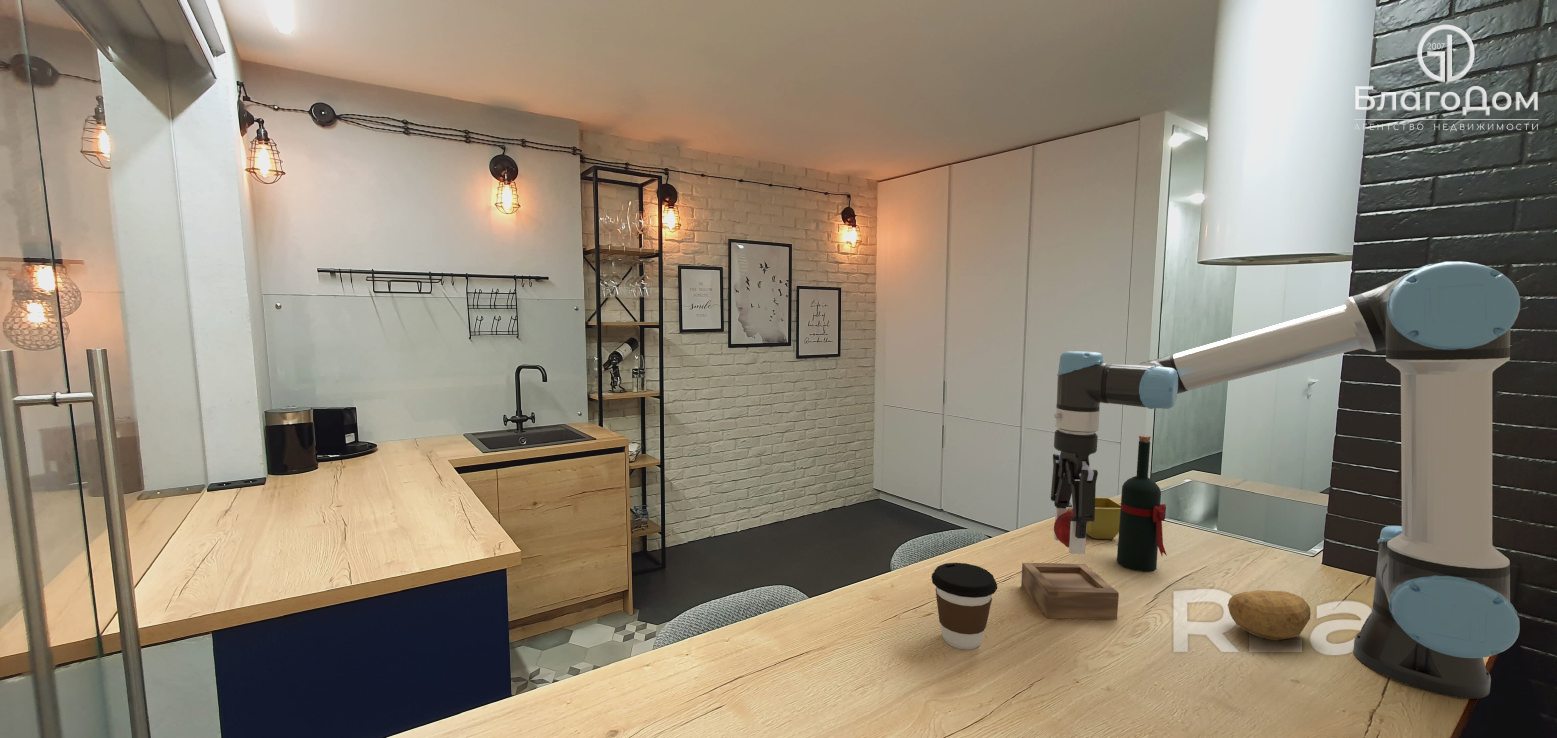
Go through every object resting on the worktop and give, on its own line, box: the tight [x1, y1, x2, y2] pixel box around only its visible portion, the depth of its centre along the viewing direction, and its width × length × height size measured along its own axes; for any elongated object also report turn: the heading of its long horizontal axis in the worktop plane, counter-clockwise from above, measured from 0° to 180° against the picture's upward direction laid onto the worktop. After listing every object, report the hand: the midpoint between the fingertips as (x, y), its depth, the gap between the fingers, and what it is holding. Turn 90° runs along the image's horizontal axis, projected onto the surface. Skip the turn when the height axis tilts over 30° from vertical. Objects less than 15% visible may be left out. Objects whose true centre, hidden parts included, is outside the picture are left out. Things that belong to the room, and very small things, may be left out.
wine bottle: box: [1116, 435, 1168, 573], centre depth 135 cm, size 8×10×30 cm
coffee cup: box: [931, 562, 998, 650], centre depth 104 cm, size 11×11×12 cm
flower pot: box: [1086, 496, 1121, 540], centre depth 155 cm, size 9×9×9 cm
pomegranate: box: [1053, 506, 1074, 548], centre depth 118 cm, size 6×6×8 cm
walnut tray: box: [1020, 562, 1120, 620], centre depth 119 cm, size 13×13×5 cm
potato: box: [1227, 589, 1312, 641], centre depth 107 cm, size 10×14×8 cm
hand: (1069, 545), depth 118 cm, fingers closed on pomegranate, 6 cm apart
